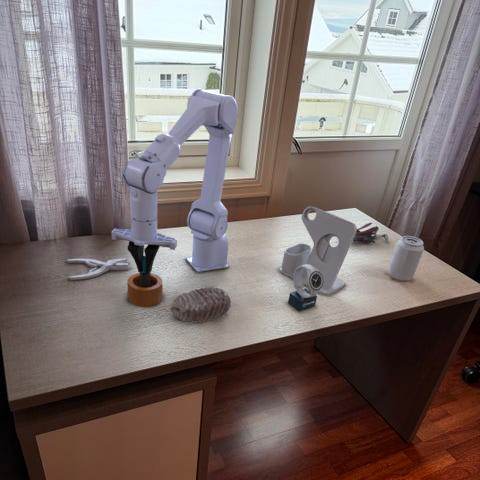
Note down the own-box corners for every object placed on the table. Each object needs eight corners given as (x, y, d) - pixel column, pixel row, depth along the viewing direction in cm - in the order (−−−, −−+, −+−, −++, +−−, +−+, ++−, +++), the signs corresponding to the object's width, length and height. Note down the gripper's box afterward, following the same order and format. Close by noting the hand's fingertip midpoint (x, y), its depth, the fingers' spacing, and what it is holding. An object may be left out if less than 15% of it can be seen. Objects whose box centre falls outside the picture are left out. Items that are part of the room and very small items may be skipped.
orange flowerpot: (155, 286, 114) (155, 270, 111) (167, 302, 108) (167, 286, 105) (123, 291, 110) (123, 275, 107) (134, 309, 104) (133, 292, 102)
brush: (148, 282, 108) (148, 252, 104) (152, 287, 107) (152, 257, 102) (138, 283, 107) (137, 254, 103) (141, 289, 106) (141, 259, 101)
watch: (304, 315, 110) (313, 277, 104) (283, 299, 115) (290, 262, 108) (320, 310, 113) (330, 272, 106) (299, 294, 118) (307, 257, 111)
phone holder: (276, 270, 127) (287, 210, 117) (297, 260, 134) (309, 203, 124) (326, 296, 119) (343, 234, 108) (346, 284, 125) (363, 224, 115)
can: (413, 274, 135) (427, 238, 128) (410, 285, 129) (424, 248, 122) (388, 267, 137) (401, 231, 130) (384, 277, 131) (397, 240, 124)
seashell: (217, 285, 112) (224, 266, 103) (233, 317, 110) (242, 301, 100) (163, 304, 107) (166, 287, 98) (179, 338, 105) (183, 324, 95)
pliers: (66, 256, 118) (124, 252, 123) (67, 261, 119) (125, 257, 124) (68, 274, 110) (130, 270, 115) (69, 280, 111) (130, 275, 116)
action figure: (372, 235, 158) (333, 239, 149) (377, 219, 155) (337, 222, 146) (388, 243, 152) (348, 248, 144) (393, 227, 149) (353, 230, 140)
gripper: (104, 218, 94) (108, 274, 102) (171, 229, 93) (170, 284, 101) (117, 206, 100) (120, 260, 108) (180, 216, 99) (178, 270, 107)
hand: (144, 271), depth 105 cm, fingers closed on brush
